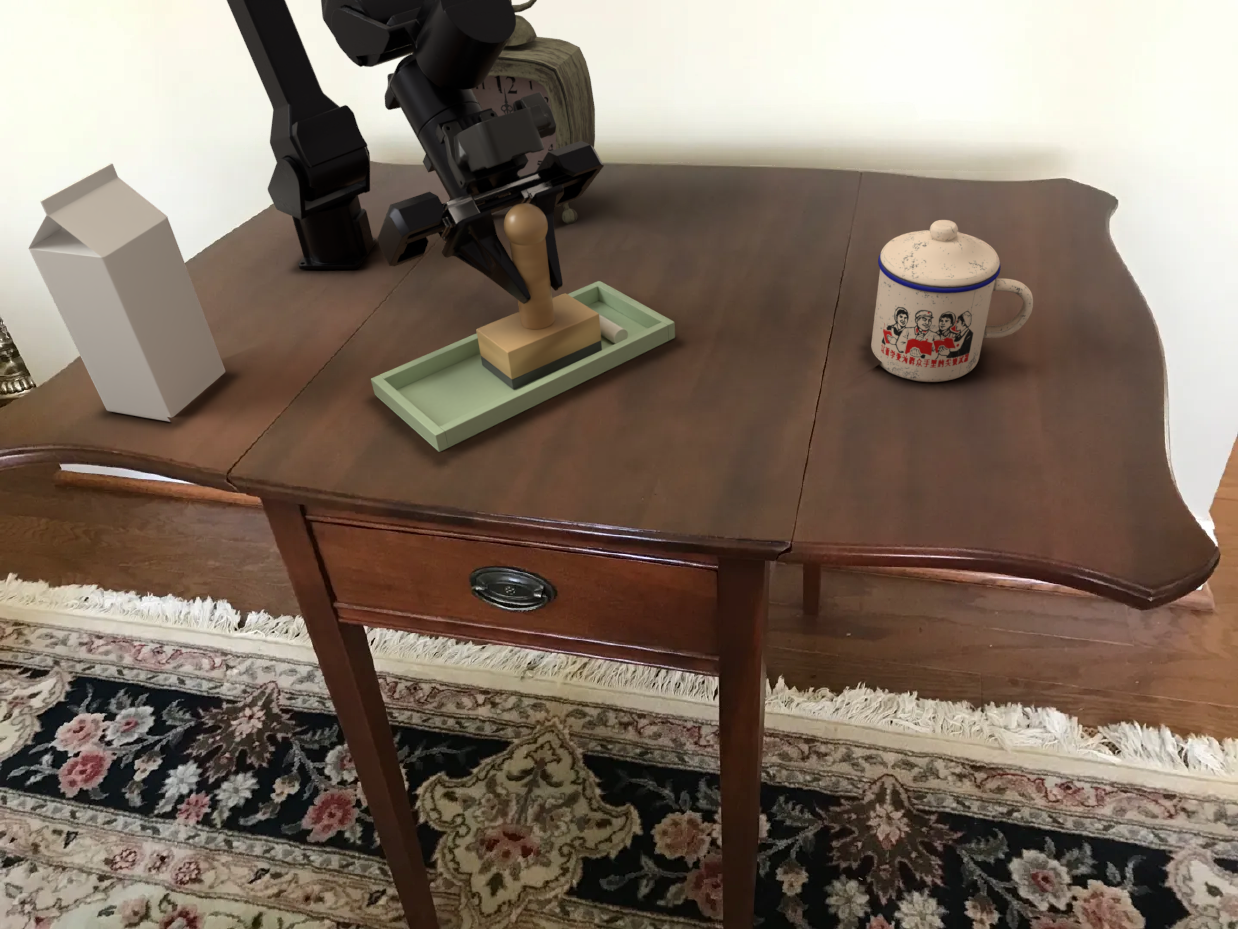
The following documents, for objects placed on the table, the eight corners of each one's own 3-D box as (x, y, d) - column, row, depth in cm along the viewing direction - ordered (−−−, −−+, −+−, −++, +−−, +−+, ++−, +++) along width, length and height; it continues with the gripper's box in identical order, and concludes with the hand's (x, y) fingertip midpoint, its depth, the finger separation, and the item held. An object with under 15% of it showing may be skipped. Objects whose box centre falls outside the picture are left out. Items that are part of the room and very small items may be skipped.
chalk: (630, 334, 83) (621, 325, 81) (620, 348, 83) (611, 340, 81) (589, 309, 86) (580, 301, 85) (579, 322, 86) (570, 314, 85)
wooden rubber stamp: (513, 390, 78) (489, 233, 70) (482, 365, 81) (455, 212, 73) (602, 350, 82) (590, 197, 73) (569, 328, 85) (553, 179, 77)
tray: (440, 459, 73) (435, 435, 71) (376, 401, 79) (370, 378, 78) (675, 344, 84) (674, 321, 82) (601, 302, 90) (599, 280, 89)
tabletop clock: (458, 223, 106) (414, -25, 91) (489, 190, 113) (454, -46, 97) (581, 232, 102) (558, -25, 87) (606, 198, 109) (589, -47, 94)
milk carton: (229, 378, 84) (149, 166, 72) (175, 425, 79) (79, 204, 67) (163, 368, 86) (75, 160, 74) (107, 413, 81) (2, 197, 69)
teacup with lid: (863, 379, 77) (879, 246, 70) (871, 323, 84) (886, 196, 77) (1021, 395, 75) (1054, 257, 67) (1016, 335, 81) (1046, 204, 74)
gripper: (359, 95, 65) (469, 296, 65) (579, 35, 74) (677, 213, 74) (338, 176, 75) (433, 350, 75) (534, 115, 84) (620, 272, 84)
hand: (543, 294), depth 77 cm, fingers closed on wooden rubber stamp, 3 cm apart
